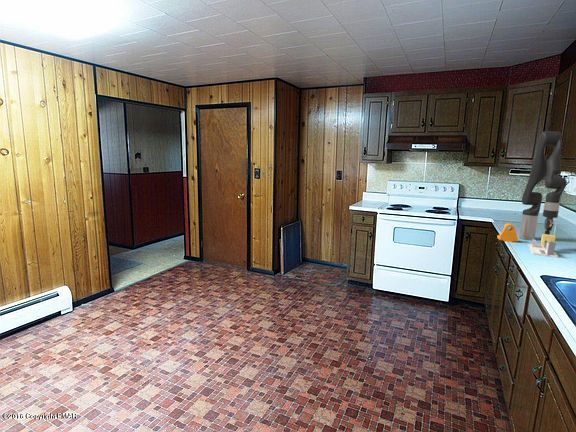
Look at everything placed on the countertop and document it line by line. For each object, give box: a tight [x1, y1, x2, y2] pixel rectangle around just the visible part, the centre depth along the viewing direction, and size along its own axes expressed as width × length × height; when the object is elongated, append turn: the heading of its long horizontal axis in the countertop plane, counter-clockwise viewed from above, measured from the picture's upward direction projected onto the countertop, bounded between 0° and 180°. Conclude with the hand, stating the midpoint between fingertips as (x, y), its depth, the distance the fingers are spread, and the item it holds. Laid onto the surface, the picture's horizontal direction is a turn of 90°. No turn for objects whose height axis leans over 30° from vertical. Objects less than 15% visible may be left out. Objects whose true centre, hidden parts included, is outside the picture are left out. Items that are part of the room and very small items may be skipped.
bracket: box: [497, 222, 519, 243], centre depth 238 cm, size 11×7×12 cm, turn 73°
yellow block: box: [540, 233, 557, 246], centre depth 213 cm, size 5×6×6 cm
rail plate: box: [527, 239, 559, 258], centre depth 213 cm, size 24×12×8 cm, turn 152°
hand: (546, 236), depth 217 cm, fingers closed
